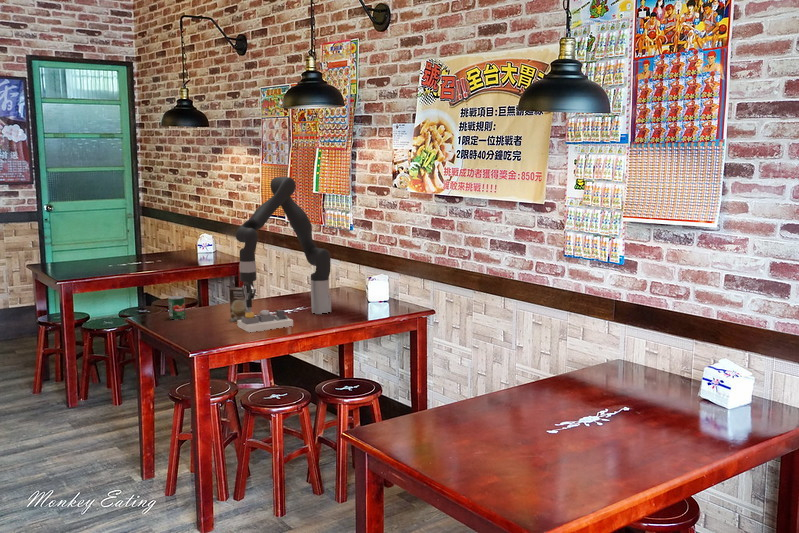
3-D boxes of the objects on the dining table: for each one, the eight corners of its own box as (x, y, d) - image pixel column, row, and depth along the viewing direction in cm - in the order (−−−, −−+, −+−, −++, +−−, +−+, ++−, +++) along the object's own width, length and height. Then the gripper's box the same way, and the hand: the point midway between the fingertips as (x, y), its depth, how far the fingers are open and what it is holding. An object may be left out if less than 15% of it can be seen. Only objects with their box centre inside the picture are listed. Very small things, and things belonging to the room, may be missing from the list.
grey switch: (267, 315, 355) (267, 309, 354) (270, 317, 352) (270, 311, 351) (259, 316, 353) (259, 310, 352) (262, 318, 349) (262, 312, 349)
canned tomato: (175, 316, 376) (174, 295, 375) (189, 317, 374) (187, 296, 372) (166, 319, 369) (164, 298, 367) (179, 320, 366) (178, 299, 365)
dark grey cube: (282, 317, 356) (282, 309, 356) (284, 318, 354) (284, 310, 353) (276, 318, 355) (276, 310, 354) (278, 319, 352) (278, 311, 352)
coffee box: (230, 321, 363) (228, 289, 361) (234, 318, 370) (232, 287, 367) (248, 321, 363) (246, 289, 360) (252, 319, 369) (250, 287, 366)
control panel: (280, 320, 365) (280, 309, 364) (293, 326, 352) (292, 314, 351) (237, 326, 353) (237, 315, 353) (249, 332, 341) (248, 321, 340)
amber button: (252, 317, 351) (252, 311, 350) (255, 319, 348) (255, 313, 347) (244, 318, 349) (244, 312, 348) (247, 320, 346) (247, 314, 345)
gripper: (260, 271, 341) (262, 308, 344) (250, 268, 352) (251, 304, 355) (245, 273, 337) (246, 310, 340) (235, 269, 348) (236, 305, 351)
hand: (249, 307), depth 347 cm, fingers closed
